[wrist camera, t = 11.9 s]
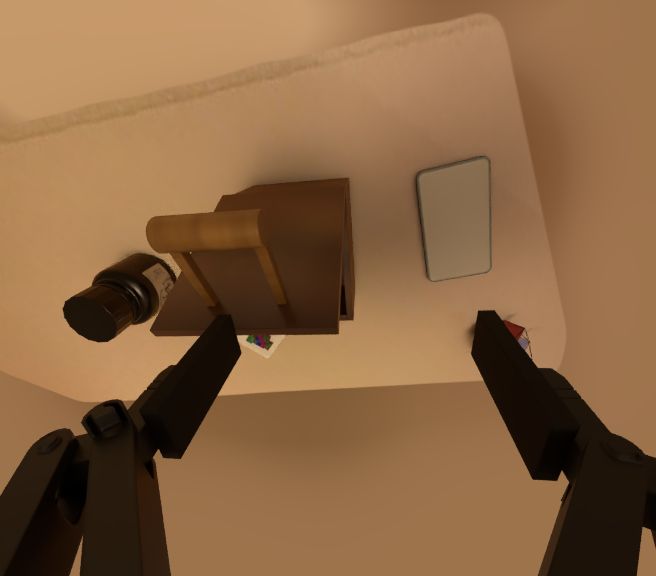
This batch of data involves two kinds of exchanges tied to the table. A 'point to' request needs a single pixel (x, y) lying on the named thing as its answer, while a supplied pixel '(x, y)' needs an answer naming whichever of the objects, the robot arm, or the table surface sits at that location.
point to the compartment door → (255, 263)
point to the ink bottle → (120, 298)
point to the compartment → (347, 255)
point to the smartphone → (456, 218)
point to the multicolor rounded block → (261, 343)
